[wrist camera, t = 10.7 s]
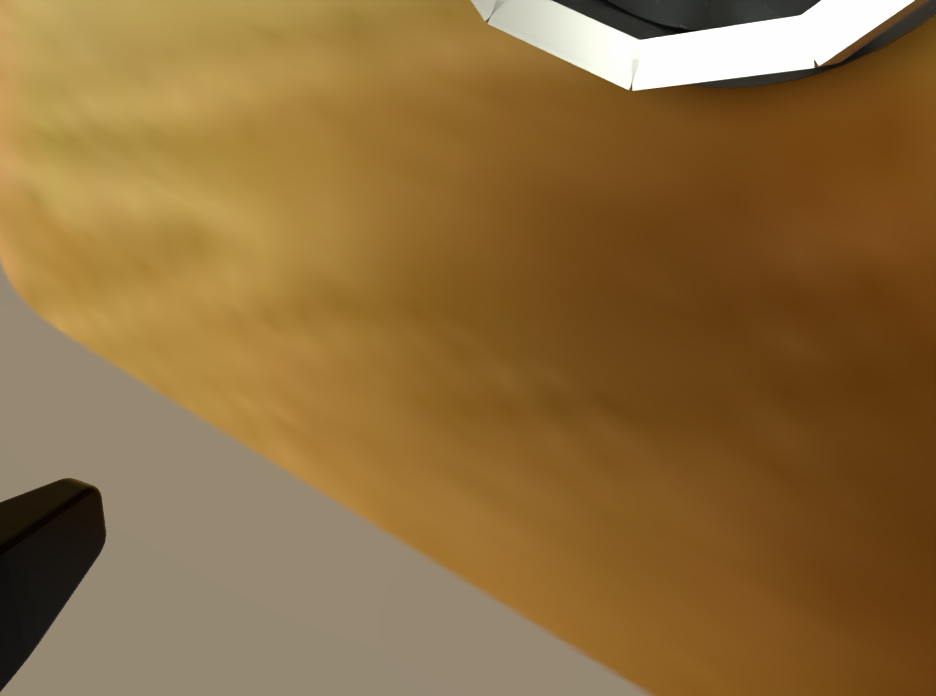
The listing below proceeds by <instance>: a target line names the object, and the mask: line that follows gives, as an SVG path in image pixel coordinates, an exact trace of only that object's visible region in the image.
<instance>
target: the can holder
mask: <svg viewBox="0 0 936 696" xmlns="http://www.w3.org/2000/svg"><path fill="white" fill-rule="evenodd" d="M471 1H472V3H473V4H474V6H475V7H476V9H477V10H478V12H479V13H480V15H481V16H482V18H483V19H484V21H485V22H488V24H489V25H491V26H493V27H495V28H497V29H499V30H502V31H504V32H506V33H508V34H510V35H512V36H514V37H516V38H519V39H521V40H523V41H525V42H527V43H529V44H531V45H533V46H536V47H538V48H540V49H542V50H544V51H546V52H548V53H551V54H553V55H555V56H557V57H559V58H561V59H563V60H565V61H568V62H570V63H572V64H574V65H576V66H578V67H580V68H582V69H585V70H587V71H589V72H591V73H593V74H595V75H597V76H600V77H602V78H604V79H606V80H608V81H610V82H612V83H614V84H617V85H619V86H621V87H623V88H625V89H627V90H633V91H635V90H643V89H651V88H659V87H667V86H675V85H683V84H685V85H694V86H706V87H719V88H730V87H749V86H763V85H768V84H774V83H779V82H784V81H790V80H795V79H801V78H804V77H808V76H811V75H814V74H817V73H820V72H823V71H827V70H830V69H833V68H836V67H839V66H842V65H845V64H847V63H849V62H851V61H854V60H856V59H858V58H860V57H862V56H865V55H867V54H869V53H871V52H874V51H876V50H878V49H880V48H882V47H884V46H886V45H887V44H889V43H891V42H892V41H894V40H896V39H898V38H899V37H901V36H903V35H904V34H906V33H908V32H909V31H911V30H913V29H914V28H916V27H918V26H919V25H921V24H922V23H924V22H925V21H926V20H928V19H929V18H930V17H932V16H933V15H934V14H936V0H471Z"/></svg>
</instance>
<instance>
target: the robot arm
mask: <svg viewBox="0 0 936 696" xmlns="http://www.w3.org/2000/svg"><path fill="white" fill-rule="evenodd" d="M105 539H106V528H105V520H104V512H103V504H102V497H101V493H100V492H99V490H98V488H96V487H95V486H92V485H90V484H87V483H84V482H82V481H79V480H76V479H72V478H66V479H61V480H58V481H55V482H53V483H50V484H48V485H45V486H42V487H40V488H37V489H34V490H32V491H29V492H26V493H24V494H21V495H18V496H16V497H13V498H11V499H8V500H5V501H3V502H0V692H1V690H2V689H3V688H4V687H5V686H6V684H7V683H8V682H9V681H10V680H11V679H12V677H13V676H14V675H15V674H16V672H17V671H18V670H19V669H20V667H21V666H22V665H23V664H24V662H25V661H26V660H27V659H28V657H29V656H30V655H31V653H32V652H33V651H34V649H35V648H36V646H37V645H38V644H39V642H40V641H41V639H42V638H43V637H44V635H45V633H46V632H47V631H48V629H49V628H50V626H51V625H52V623H53V622H54V620H55V619H56V617H57V616H58V615H59V613H60V612H61V610H62V609H63V607H64V606H65V604H66V603H67V601H68V600H69V598H70V597H71V595H72V594H73V593H74V591H75V590H76V588H77V587H78V585H79V584H80V582H81V581H82V579H83V578H84V576H85V575H86V573H87V572H88V571H89V569H90V568H91V566H92V565H93V563H94V562H95V560H96V559H97V557H98V556H99V554H100V552H101V550H102V548H103V546H104V543H105Z"/></svg>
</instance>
